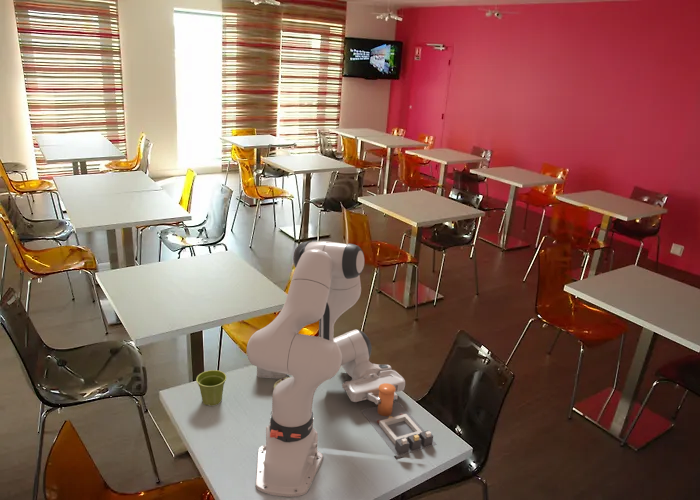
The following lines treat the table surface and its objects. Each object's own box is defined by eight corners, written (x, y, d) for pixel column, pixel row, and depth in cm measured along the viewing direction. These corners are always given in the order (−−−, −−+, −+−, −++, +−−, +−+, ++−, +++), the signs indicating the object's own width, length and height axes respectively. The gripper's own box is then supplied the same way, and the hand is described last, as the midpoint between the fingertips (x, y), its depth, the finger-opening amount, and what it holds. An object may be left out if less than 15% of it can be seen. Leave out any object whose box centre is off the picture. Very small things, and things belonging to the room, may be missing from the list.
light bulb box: (288, 369, 195) (289, 343, 191) (286, 379, 189) (287, 353, 185) (259, 367, 195) (259, 341, 191) (256, 377, 189) (256, 351, 185)
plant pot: (192, 398, 175) (191, 375, 172) (218, 388, 181) (218, 366, 178) (205, 413, 168) (204, 389, 166) (231, 402, 174) (231, 380, 171)
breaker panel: (436, 447, 161) (438, 433, 159) (396, 459, 155) (398, 445, 153) (397, 403, 180) (398, 390, 178) (360, 412, 174) (361, 399, 172)
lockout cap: (393, 417, 171) (395, 394, 168) (376, 416, 171) (378, 392, 168) (392, 407, 176) (395, 384, 173) (376, 405, 176) (378, 382, 173)
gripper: (340, 375, 177) (359, 399, 166) (393, 363, 186) (414, 385, 174) (339, 391, 179) (357, 415, 168) (391, 379, 188) (412, 401, 177)
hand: (387, 400), depth 171 cm, fingers closed on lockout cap, 5 cm apart
